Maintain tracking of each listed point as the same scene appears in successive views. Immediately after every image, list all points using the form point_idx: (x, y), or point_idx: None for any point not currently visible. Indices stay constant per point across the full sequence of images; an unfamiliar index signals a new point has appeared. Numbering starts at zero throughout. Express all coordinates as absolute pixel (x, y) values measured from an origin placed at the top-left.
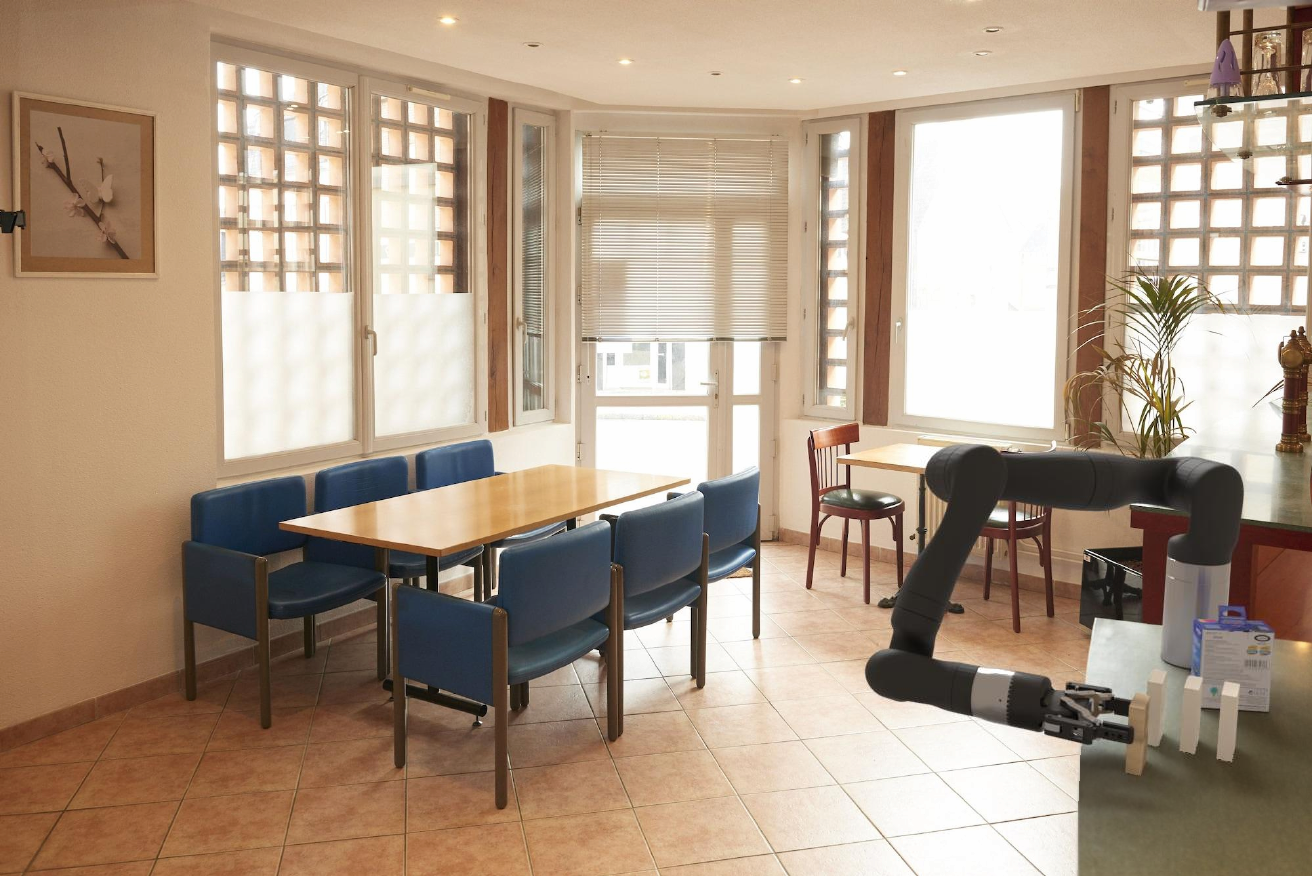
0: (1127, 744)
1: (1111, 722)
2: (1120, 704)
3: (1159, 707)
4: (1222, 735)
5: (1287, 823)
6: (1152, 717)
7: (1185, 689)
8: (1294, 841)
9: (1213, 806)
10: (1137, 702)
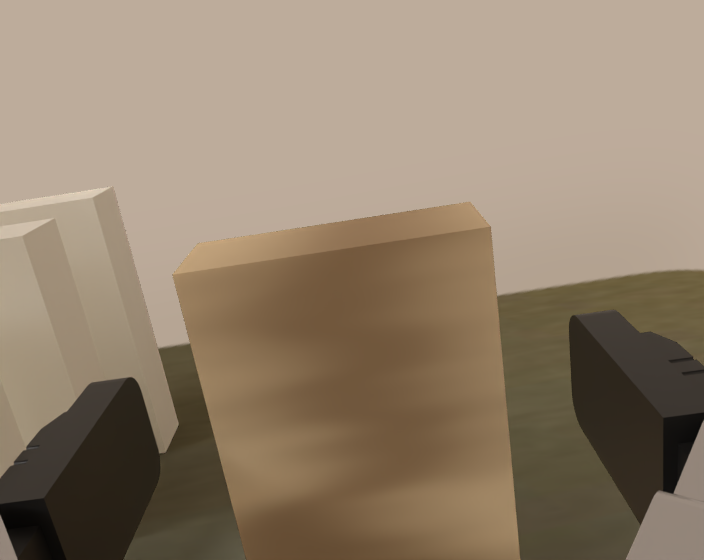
0: (514, 499)
1: (638, 379)
2: (82, 499)
3: (10, 421)
4: (145, 356)
5: (509, 305)
6: None
7: (29, 241)
8: (591, 286)
9: (559, 385)
10: (367, 233)
